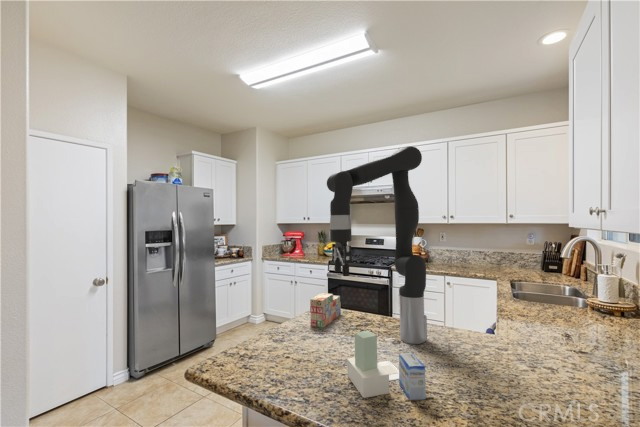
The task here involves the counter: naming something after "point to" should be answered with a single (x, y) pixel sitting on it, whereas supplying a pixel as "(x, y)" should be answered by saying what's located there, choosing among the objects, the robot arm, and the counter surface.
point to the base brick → (368, 379)
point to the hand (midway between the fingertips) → (341, 274)
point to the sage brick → (366, 350)
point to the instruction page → (390, 370)
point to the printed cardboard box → (324, 309)
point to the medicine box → (412, 376)
